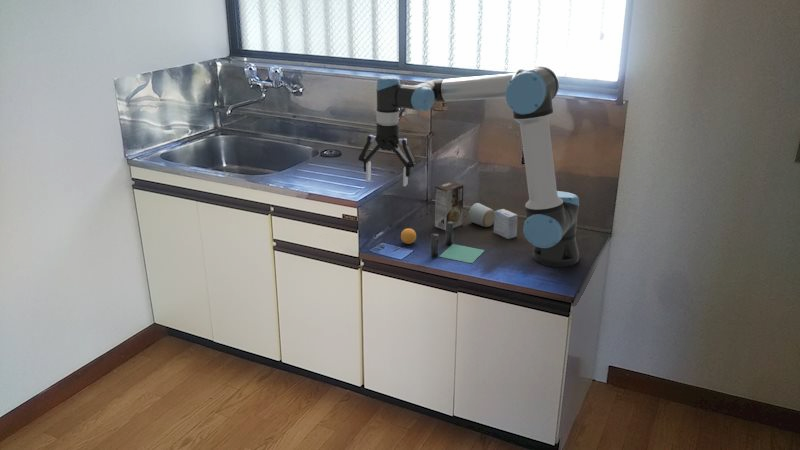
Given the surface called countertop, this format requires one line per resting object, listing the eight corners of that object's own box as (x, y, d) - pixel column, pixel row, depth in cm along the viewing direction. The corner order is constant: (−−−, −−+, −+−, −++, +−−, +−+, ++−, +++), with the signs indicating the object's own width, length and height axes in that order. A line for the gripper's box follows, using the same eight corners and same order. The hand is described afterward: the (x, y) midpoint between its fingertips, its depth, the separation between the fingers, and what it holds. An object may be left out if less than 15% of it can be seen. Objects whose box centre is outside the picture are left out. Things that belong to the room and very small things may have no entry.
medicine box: (516, 237, 247) (518, 214, 244) (507, 239, 245) (509, 217, 242) (502, 230, 254) (503, 208, 250) (493, 232, 251) (494, 210, 248)
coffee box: (450, 220, 263) (451, 180, 257) (463, 225, 258) (464, 184, 253) (434, 226, 257) (434, 185, 251) (446, 231, 253) (447, 189, 247)
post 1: (439, 255, 232) (440, 234, 229) (436, 258, 230) (436, 236, 227) (432, 254, 233) (433, 232, 230) (429, 257, 231) (429, 235, 228)
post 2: (454, 242, 242) (454, 221, 239) (451, 245, 240) (451, 224, 237) (447, 241, 243) (447, 220, 241) (444, 244, 241) (444, 223, 238)
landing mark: (484, 250, 236) (484, 250, 236) (472, 263, 226) (472, 263, 226) (452, 244, 241) (452, 244, 241) (438, 256, 231) (438, 256, 231)
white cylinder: (483, 230, 254) (484, 210, 251) (467, 224, 259) (468, 205, 257) (502, 223, 260) (503, 204, 258) (486, 217, 266) (487, 199, 263)
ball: (418, 241, 243) (418, 227, 241) (412, 247, 239) (412, 232, 237) (405, 239, 246) (405, 225, 244) (398, 244, 241) (398, 230, 239)
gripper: (426, 124, 229) (424, 183, 237) (357, 117, 236) (357, 175, 244) (419, 129, 222) (417, 190, 230) (349, 121, 229) (349, 181, 237)
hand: (386, 182), depth 237 cm, fingers open, 13 cm apart
